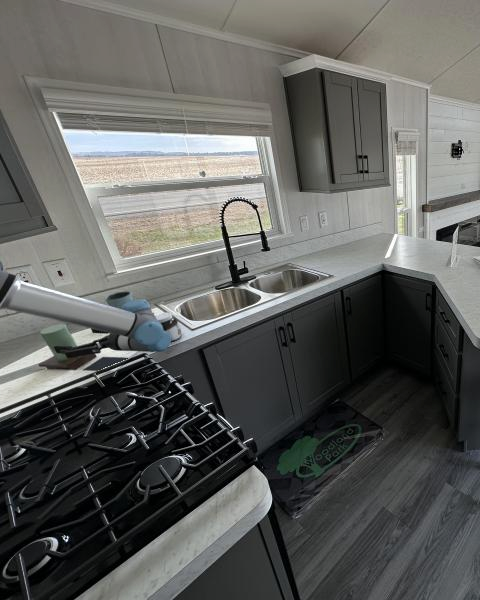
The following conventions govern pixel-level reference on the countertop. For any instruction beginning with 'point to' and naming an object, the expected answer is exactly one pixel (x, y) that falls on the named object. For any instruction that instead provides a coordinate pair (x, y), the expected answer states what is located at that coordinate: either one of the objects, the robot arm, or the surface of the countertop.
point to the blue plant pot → (119, 299)
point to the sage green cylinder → (58, 339)
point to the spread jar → (170, 325)
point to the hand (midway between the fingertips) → (75, 339)
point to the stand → (67, 362)
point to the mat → (104, 363)
